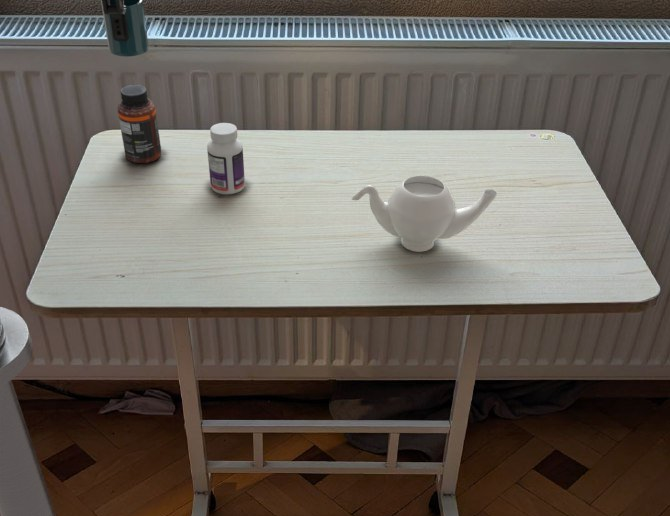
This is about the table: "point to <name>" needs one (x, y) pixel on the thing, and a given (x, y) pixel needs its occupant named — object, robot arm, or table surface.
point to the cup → (136, 31)
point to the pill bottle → (225, 159)
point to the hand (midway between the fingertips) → (125, 31)
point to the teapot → (423, 211)
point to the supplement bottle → (138, 125)
